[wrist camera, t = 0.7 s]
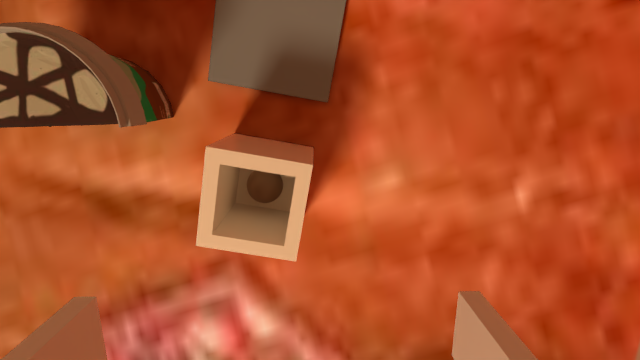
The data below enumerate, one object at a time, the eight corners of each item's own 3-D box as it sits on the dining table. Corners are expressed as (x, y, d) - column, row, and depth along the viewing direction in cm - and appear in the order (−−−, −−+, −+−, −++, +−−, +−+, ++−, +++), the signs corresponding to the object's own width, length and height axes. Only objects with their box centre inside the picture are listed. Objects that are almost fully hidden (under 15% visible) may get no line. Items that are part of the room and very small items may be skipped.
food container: (181, 40, 28) (111, 10, 18) (191, 116, 30) (129, 127, 20) (30, 44, 28) (-122, 17, 18) (47, 121, 29) (-86, 133, 20)
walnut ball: (248, 194, 30) (241, 204, 27) (252, 161, 30) (245, 168, 27) (281, 199, 31) (278, 210, 28) (287, 167, 30) (284, 174, 27)
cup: (225, 208, 32) (196, 245, 24) (234, 133, 30) (205, 146, 22) (300, 221, 32) (296, 261, 24) (313, 147, 30) (313, 165, 22)
